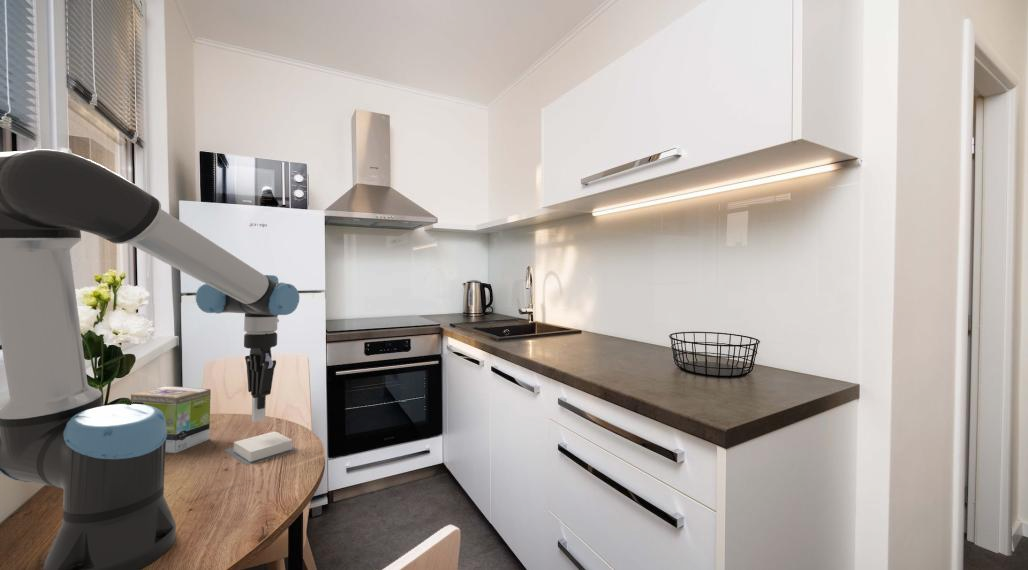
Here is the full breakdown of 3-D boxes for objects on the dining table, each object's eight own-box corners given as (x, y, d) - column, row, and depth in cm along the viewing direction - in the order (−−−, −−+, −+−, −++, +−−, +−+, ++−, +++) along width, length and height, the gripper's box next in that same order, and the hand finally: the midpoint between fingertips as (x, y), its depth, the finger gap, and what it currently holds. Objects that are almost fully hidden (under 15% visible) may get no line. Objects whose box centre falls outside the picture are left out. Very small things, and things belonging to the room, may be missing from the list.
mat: (246, 467, 96) (246, 465, 96) (223, 451, 104) (223, 450, 104) (297, 451, 106) (297, 449, 106) (272, 438, 114) (272, 436, 114)
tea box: (210, 440, 112) (212, 388, 112) (174, 455, 102) (176, 397, 102) (166, 435, 114) (168, 384, 114) (126, 449, 104) (128, 393, 104)
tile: (233, 452, 103) (250, 462, 98) (233, 442, 103) (250, 452, 98) (274, 440, 111) (292, 449, 106) (274, 431, 111) (292, 440, 106)
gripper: (287, 333, 106) (284, 421, 106) (265, 329, 113) (262, 411, 113) (256, 335, 100) (253, 429, 100) (235, 331, 107) (232, 418, 107)
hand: (258, 420), depth 106 cm, fingers closed
